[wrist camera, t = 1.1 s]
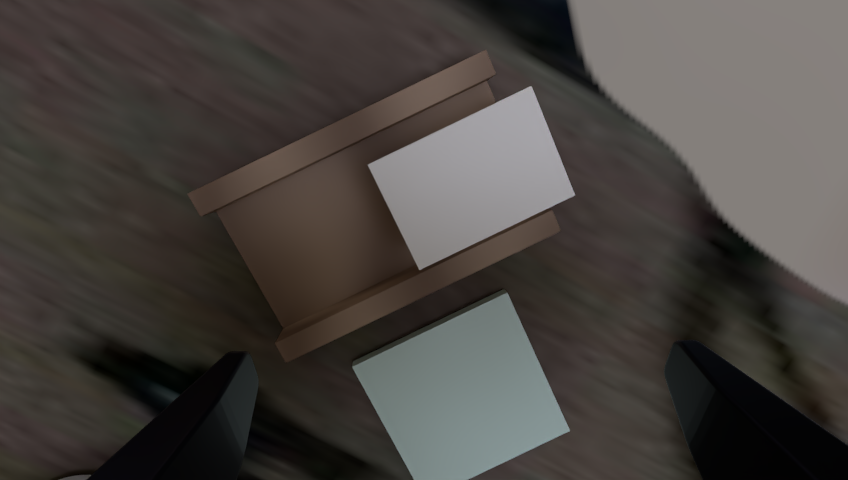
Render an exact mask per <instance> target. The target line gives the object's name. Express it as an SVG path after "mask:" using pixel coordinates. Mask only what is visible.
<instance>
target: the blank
mask: <svg viewBox="0 0 848 480" xmlns="http://www.w3.org/2000/svg"><path fill="white" fill-rule="evenodd" d="M368 167H369V169H370V171H371V173H372V175H373V177H374V179H375V181H376V183H377V185H378V187H379V189H380V191H381V193H382V195H383V197H384V199H385V201H386V203H387V205H388V207H389V209H390V211H391V213H392V216H393V218H394V220H395V222H396V224H397V226H398V228H399V230H400V232H401V234H402V236H403V238H404V240H405V242H406V244H407V246H408V248H409V250H410V252H411V254H412V256H413V258H414V260H415V262H416V264H417V266H418V268H419V270H421V269H423V268H425V267H427V266H429V265H431V264H433V263H435V262H437V261H440V260H442V259H444V258H446V257H448V256H450V255H452V254H454V253H456V252H458V251H460V250H462V249H465V248H467V247H469V246H471V245H473V244H475V243H477V242H479V241H481V240H483V239H485V238H487V237H489V236H492V235H494V234H496V233H498V232H500V231H502V230H504V229H506V228H508V227H510V226H512V225H514V224H517V223H519V222H521V221H523V220H525V219H527V218H529V217H531V216H533V215H535V214H537V213H539V212H542V211H544V210H546V209H548V208H550V207H552V206H554V205H556V204H558V203H560V202H562V201H564V200H567V199H569V198H571V197H573V196H575V193H574V191H573V188H572V186H571V184H570V181H569V179H568V176H567V174H566V171H565V169H564V166H563V164H562V161H561V159H560V156H559V154H558V151H557V149H556V146H555V144H554V141H553V139H552V136H551V134H550V131H549V129H548V126H547V124H546V121H545V119H544V116H543V114H542V111H541V109H540V106H539V104H538V101H537V99H536V96H535V94H534V91H533V89H532V86H530V87H528V88H526V89H524V90H522V91H520V92H517V93H515V94H513V95H511V96H509V97H507V98H505V99H503V100H500V101H498V102H496V103H494V104H492V105H490V106H488V107H486V108H484V109H482V110H480V111H478V112H475V113H473V114H471V115H469V116H467V117H465V118H463V119H461V120H459V121H457V122H455V123H453V124H451V125H449V126H446V127H444V128H442V129H440V130H438V131H436V132H434V133H432V134H430V135H428V136H426V137H424V138H422V139H419V140H417V141H415V142H413V143H411V144H409V145H407V146H405V147H403V148H401V149H399V150H397V151H395V152H392V153H390V154H388V155H386V156H384V157H382V158H380V159H378V160H376V161H374V162H372V163H370V164H368Z"/></svg>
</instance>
